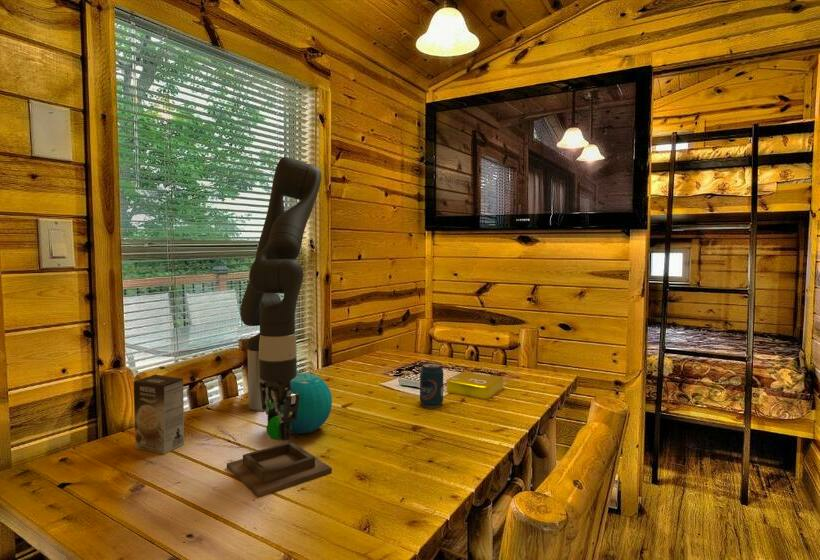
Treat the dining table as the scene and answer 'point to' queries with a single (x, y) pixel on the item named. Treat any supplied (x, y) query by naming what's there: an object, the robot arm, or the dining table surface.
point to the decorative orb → (310, 403)
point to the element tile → (475, 384)
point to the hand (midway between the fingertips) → (279, 435)
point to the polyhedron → (273, 428)
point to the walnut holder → (277, 468)
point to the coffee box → (159, 413)
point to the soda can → (431, 385)
